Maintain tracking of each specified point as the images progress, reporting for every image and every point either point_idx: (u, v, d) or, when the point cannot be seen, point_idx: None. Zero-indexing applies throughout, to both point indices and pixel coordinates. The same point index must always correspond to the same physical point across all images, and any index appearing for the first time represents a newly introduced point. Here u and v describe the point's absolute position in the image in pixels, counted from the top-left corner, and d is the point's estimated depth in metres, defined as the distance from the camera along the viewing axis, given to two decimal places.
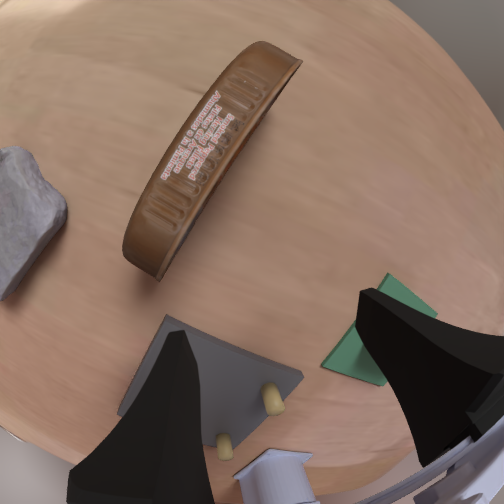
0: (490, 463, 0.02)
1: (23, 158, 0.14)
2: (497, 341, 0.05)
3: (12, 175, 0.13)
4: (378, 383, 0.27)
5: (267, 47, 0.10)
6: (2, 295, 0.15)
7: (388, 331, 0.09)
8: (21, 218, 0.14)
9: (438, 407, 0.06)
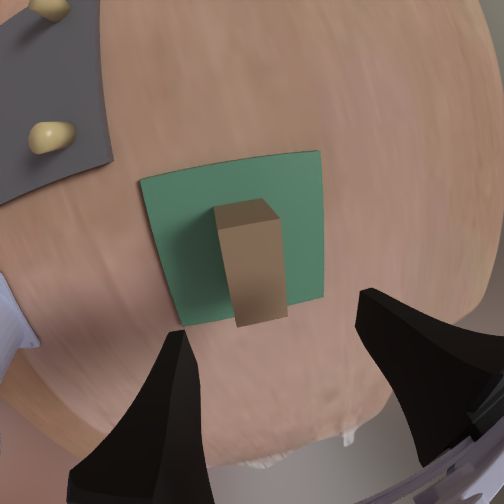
0: (490, 463, 0.02)
1: None
2: (497, 341, 0.05)
3: None
4: (180, 312, 0.19)
5: None
6: None
7: (388, 331, 0.09)
8: None
9: (438, 407, 0.06)
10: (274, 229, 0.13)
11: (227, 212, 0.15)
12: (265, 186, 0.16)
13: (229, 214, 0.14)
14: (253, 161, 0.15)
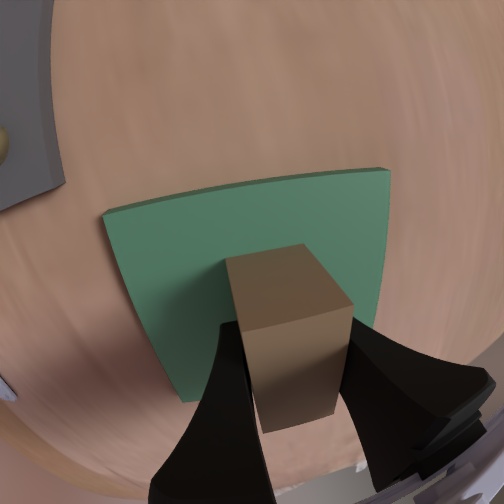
0: (490, 464, 0.02)
1: None
2: (457, 371, 0.05)
3: None
4: (178, 389, 0.13)
5: None
6: None
7: None
8: None
9: (385, 437, 0.05)
10: (341, 322, 0.07)
11: (252, 278, 0.08)
12: (310, 225, 0.10)
13: (257, 284, 0.08)
14: (294, 183, 0.09)
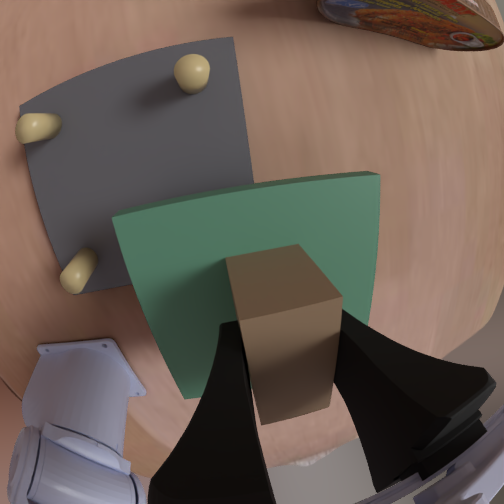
0: (490, 463, 0.02)
1: None
2: (457, 371, 0.05)
3: None
4: (180, 386, 0.13)
5: None
6: None
7: (339, 348, 0.08)
8: None
9: (385, 437, 0.05)
10: (331, 313, 0.08)
11: (251, 274, 0.09)
12: (304, 227, 0.11)
13: (254, 279, 0.09)
14: (288, 188, 0.10)
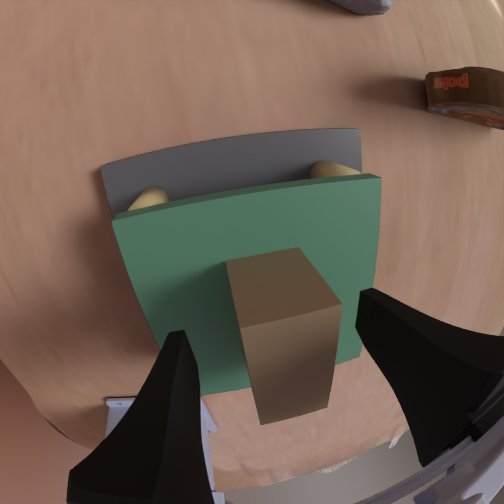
0: (490, 463, 0.02)
1: None
2: (497, 341, 0.05)
3: None
4: None
5: None
6: None
7: (388, 331, 0.09)
8: None
9: (438, 407, 0.06)
10: (331, 319, 0.08)
11: (251, 280, 0.09)
12: (304, 230, 0.11)
13: (254, 284, 0.09)
14: (289, 192, 0.10)
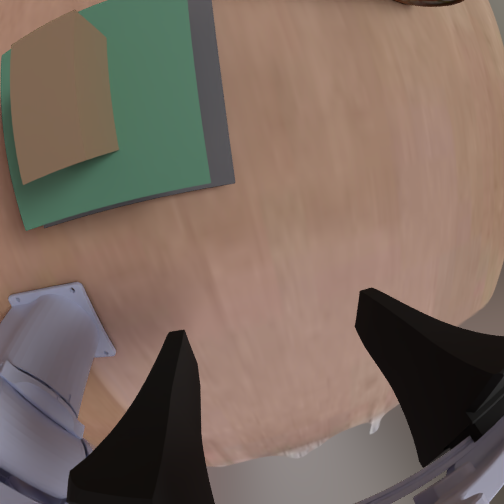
0: (490, 463, 0.02)
1: None
2: (497, 341, 0.05)
3: None
4: (21, 208, 0.11)
5: None
6: None
7: (388, 331, 0.09)
8: None
9: (438, 407, 0.06)
10: (66, 23, 0.05)
11: None
12: (112, 25, 0.08)
13: None
14: (102, 4, 0.07)
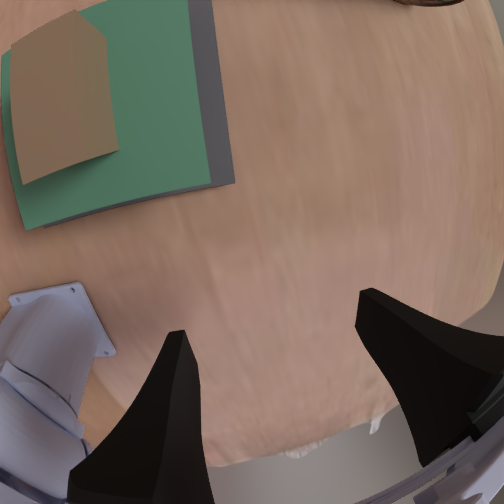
0: (490, 463, 0.02)
1: None
2: (497, 341, 0.05)
3: None
4: (21, 208, 0.11)
5: None
6: None
7: (388, 331, 0.09)
8: None
9: (438, 407, 0.06)
10: (66, 23, 0.05)
11: None
12: (112, 25, 0.08)
13: None
14: (102, 4, 0.07)
